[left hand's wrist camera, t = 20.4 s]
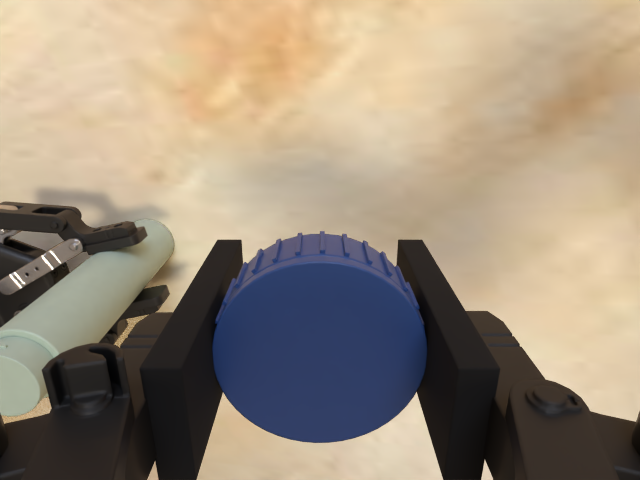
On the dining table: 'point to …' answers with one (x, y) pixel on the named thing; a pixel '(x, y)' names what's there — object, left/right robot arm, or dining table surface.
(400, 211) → the dining table surface
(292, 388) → the lid
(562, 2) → the dining table surface
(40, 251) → the right robot arm
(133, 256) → the pale green cylinder
